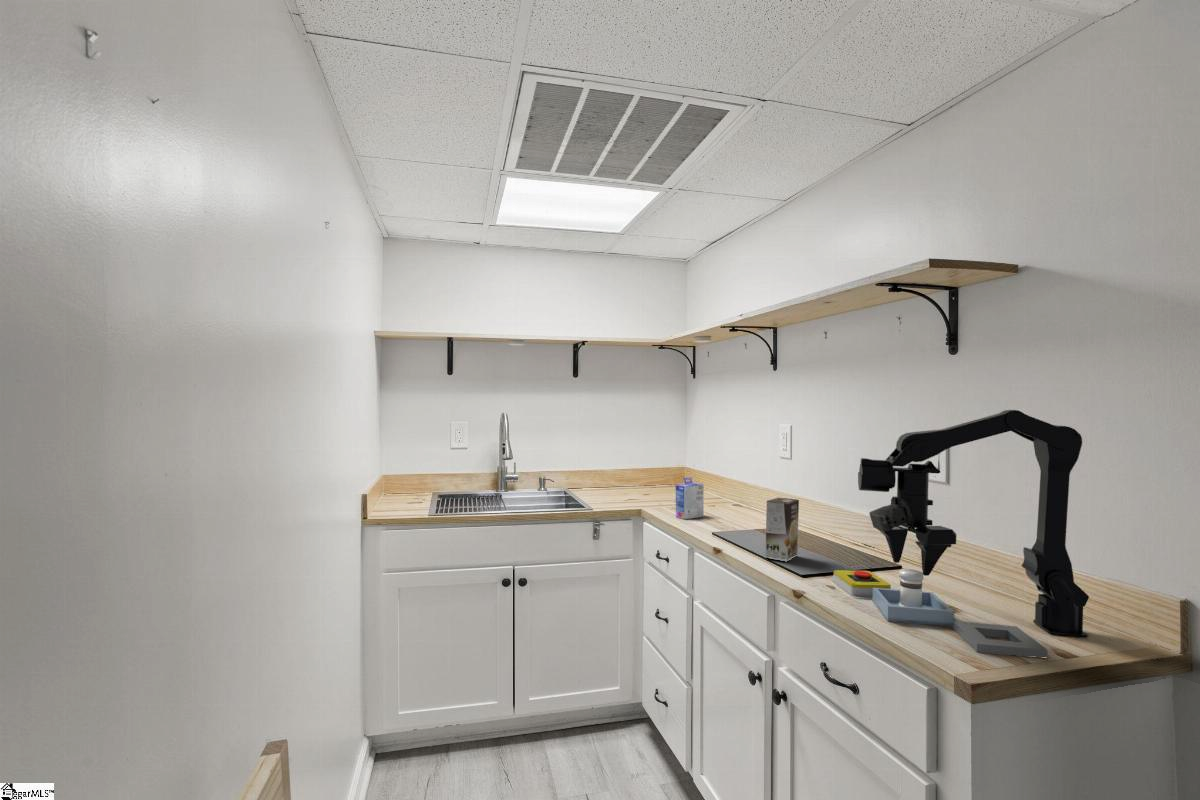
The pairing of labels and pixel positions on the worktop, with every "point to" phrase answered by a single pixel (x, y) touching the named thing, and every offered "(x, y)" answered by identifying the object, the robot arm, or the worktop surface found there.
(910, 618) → the parts tray
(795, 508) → the coffee box
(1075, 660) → the worktop surface
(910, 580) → the frosted globe bulb
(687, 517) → the ink cartridge box
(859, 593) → the emergency button
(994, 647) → the grey square frame
